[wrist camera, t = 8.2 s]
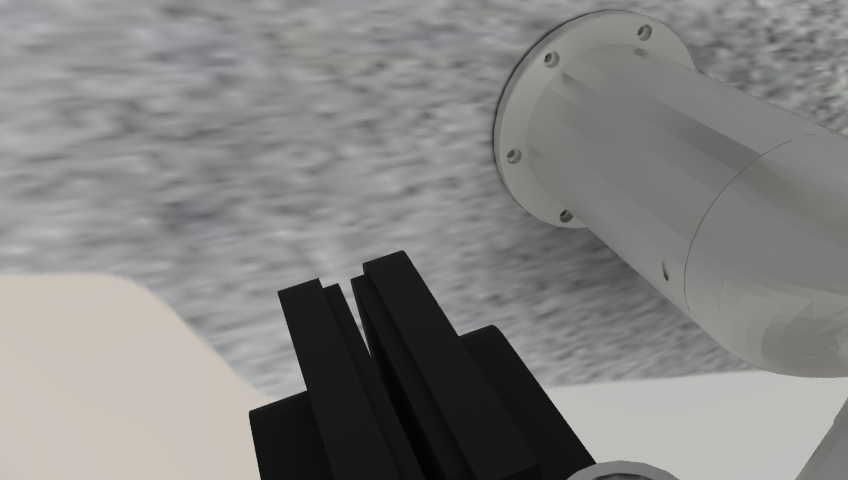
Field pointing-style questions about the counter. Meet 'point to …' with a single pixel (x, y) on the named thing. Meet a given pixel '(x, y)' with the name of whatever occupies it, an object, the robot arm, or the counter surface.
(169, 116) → the counter surface
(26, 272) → the counter surface
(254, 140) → the counter surface
